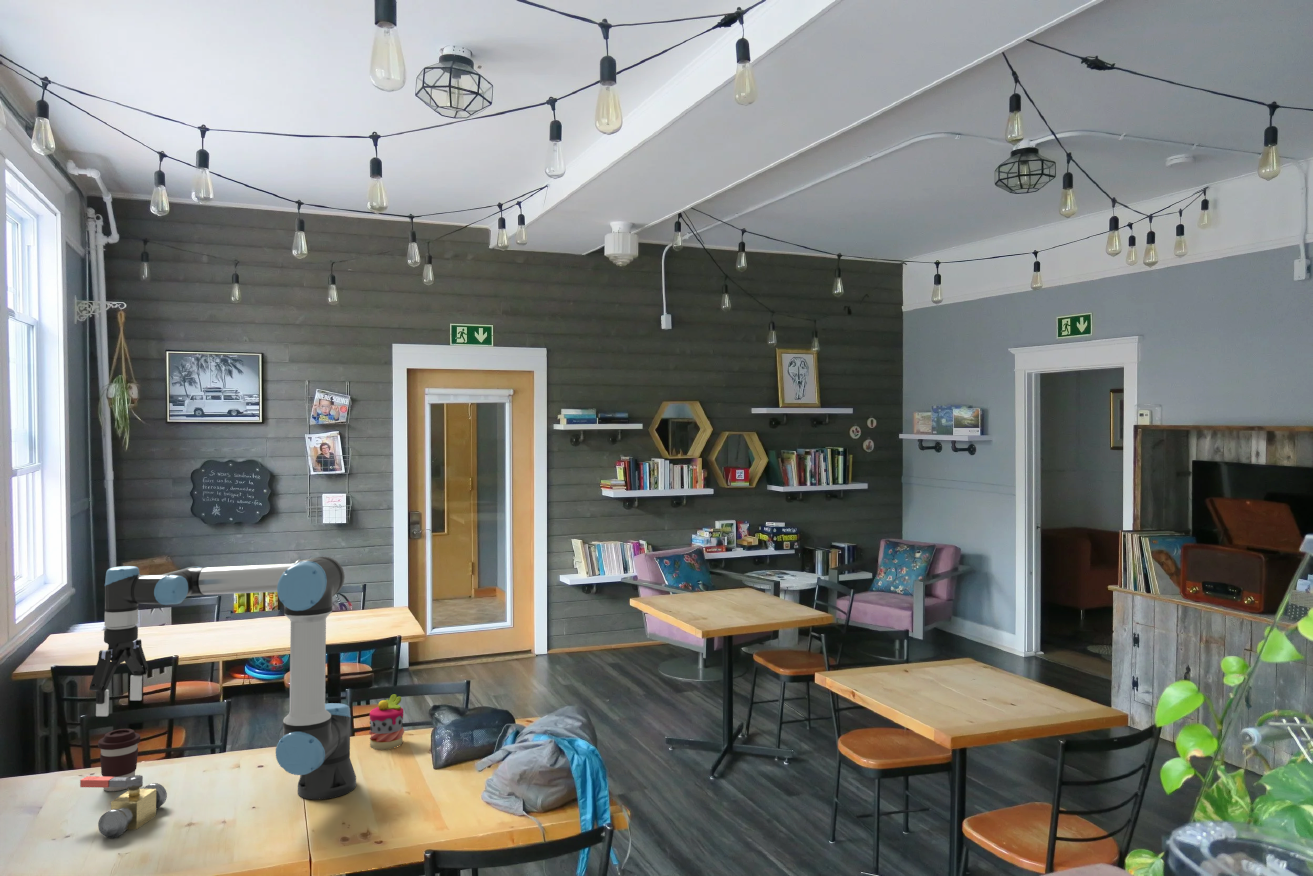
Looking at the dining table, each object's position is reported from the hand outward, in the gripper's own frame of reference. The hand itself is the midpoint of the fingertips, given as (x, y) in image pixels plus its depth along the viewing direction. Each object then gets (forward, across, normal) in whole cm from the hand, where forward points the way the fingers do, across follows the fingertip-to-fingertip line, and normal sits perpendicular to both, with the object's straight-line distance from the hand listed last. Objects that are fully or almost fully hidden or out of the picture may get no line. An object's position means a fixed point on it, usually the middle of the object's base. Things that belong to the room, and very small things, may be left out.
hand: (119, 707), depth 223 cm
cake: (+26, -50, +54) cm, 78 cm away
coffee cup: (+26, -14, -8) cm, 31 cm away
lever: (+17, +8, +4) cm, 19 cm away
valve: (+26, +8, +10) cm, 29 cm away
